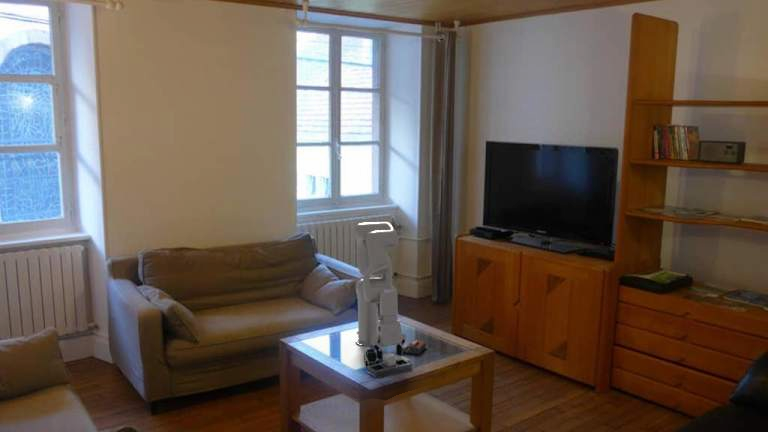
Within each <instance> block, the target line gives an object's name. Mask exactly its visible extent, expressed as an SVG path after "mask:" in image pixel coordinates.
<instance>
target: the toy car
mask: <svg viewBox="0 0 768 432" xmlns="http://www.w3.org/2000/svg"><path fill="white" fill-rule="evenodd" d="M363 361H364V364H365V365H364V366H366V367H365V368H367V366H370V365H375V364H379V363H380V360H379V359H378V358H377V350H376V349H375V348H369V349H365V350H364V353H363Z"/></svg>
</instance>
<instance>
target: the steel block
mask: <svg viewBox="0 0 768 432" xmlns="http://www.w3.org/2000/svg"><path fill="white" fill-rule="evenodd" d="M396 355H397V354H393V353H392V352H388V353H384V354H383V353H382V363H383V366H385V367H387V368H389V367H394V366H396Z"/></svg>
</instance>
